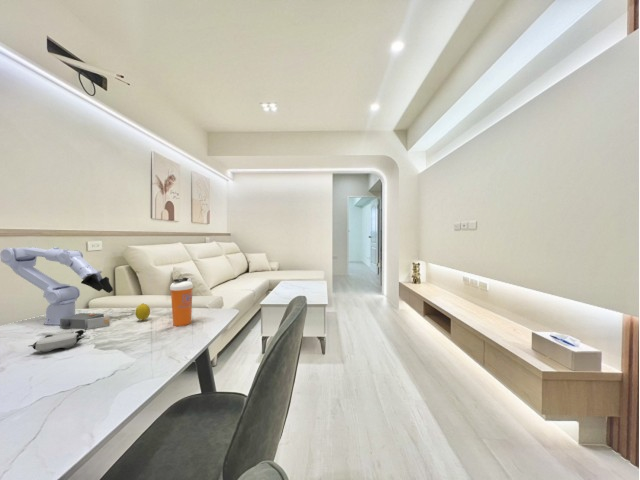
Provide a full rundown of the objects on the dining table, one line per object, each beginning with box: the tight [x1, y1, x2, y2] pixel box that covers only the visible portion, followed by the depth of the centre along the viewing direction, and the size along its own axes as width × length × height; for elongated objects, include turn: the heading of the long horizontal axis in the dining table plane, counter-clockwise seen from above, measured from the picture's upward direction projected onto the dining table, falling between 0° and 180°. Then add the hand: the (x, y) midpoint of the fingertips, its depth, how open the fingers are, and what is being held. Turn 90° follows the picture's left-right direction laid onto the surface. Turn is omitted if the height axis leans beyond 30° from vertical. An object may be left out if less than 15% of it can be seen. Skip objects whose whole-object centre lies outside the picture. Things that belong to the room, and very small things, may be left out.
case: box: [59, 312, 105, 330], centre depth 109 cm, size 12×9×5 cm
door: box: [84, 315, 110, 330], centre depth 106 cm, size 2×8×4 cm, turn 123°
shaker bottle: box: [169, 277, 194, 327], centre depth 110 cm, size 9×9×20 cm
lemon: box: [135, 303, 151, 322], centre depth 115 cm, size 6×6×8 cm
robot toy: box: [27, 329, 87, 353], centre depth 89 cm, size 12×4×15 cm
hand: (106, 290), depth 112 cm, fingers open, 7 cm apart
